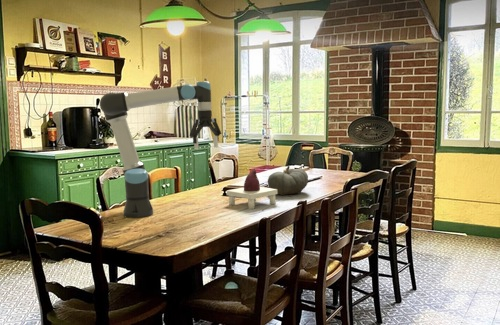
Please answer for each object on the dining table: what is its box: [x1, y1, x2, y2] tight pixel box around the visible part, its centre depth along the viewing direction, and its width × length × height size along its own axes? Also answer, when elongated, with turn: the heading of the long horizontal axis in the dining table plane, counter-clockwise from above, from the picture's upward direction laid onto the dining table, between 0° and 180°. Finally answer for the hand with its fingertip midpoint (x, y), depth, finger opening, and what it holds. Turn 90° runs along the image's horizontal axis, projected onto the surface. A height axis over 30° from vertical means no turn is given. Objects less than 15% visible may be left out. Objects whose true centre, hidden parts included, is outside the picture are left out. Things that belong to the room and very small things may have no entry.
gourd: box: [267, 165, 309, 196], centre depth 300 cm, size 25×25×17 cm
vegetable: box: [243, 168, 261, 191], centre depth 270 cm, size 10×9×14 cm
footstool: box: [226, 186, 278, 210], centre depth 272 cm, size 20×20×8 cm
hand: (206, 148), depth 272 cm, fingers open, 13 cm apart
